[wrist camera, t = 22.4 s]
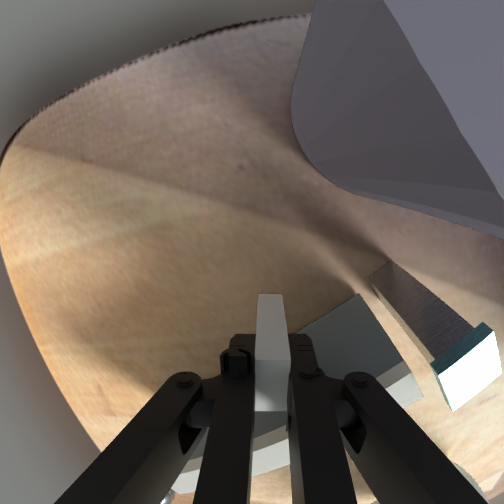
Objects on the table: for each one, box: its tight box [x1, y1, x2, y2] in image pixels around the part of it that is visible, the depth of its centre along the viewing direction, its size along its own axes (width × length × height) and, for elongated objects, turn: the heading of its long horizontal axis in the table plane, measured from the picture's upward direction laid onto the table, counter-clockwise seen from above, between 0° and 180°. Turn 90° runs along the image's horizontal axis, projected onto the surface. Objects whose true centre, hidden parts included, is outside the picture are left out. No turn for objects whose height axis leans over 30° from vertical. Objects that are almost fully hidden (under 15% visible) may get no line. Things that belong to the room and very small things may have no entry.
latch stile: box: [367, 260, 502, 412], centre depth 14 cm, size 3×3×11 cm
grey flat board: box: [171, 293, 424, 494], centre depth 16 cm, size 14×2×9 cm, turn 126°
